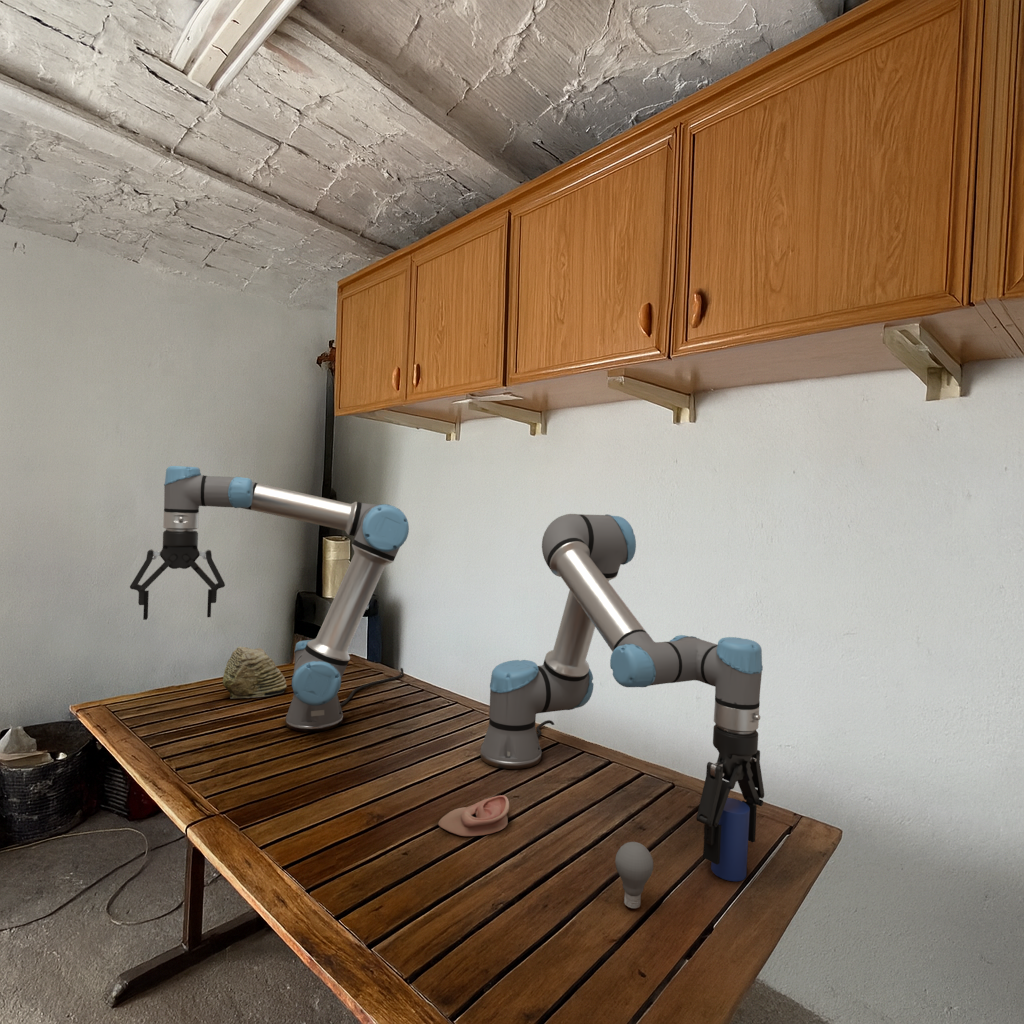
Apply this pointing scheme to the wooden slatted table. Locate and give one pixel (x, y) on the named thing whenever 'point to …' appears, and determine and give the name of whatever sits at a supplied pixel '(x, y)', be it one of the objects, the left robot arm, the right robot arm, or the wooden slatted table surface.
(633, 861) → the light bulb
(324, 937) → the wooden slatted table surface
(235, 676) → the fossil
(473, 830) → the anatomical model
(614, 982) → the wooden slatted table surface
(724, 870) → the canister
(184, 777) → the wooden slatted table surface
